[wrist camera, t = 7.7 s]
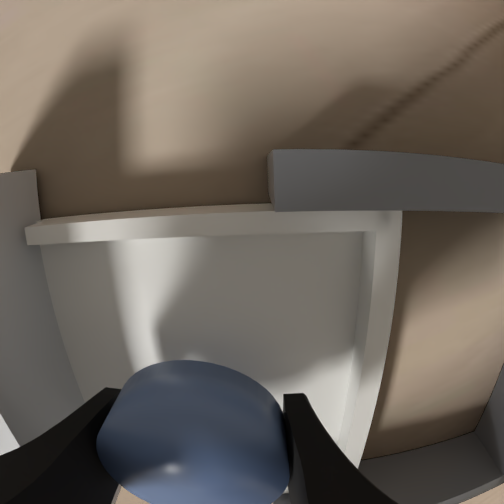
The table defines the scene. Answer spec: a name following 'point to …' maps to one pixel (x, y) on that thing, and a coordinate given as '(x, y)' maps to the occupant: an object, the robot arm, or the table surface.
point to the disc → (195, 436)
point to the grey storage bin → (406, 199)
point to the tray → (193, 305)
